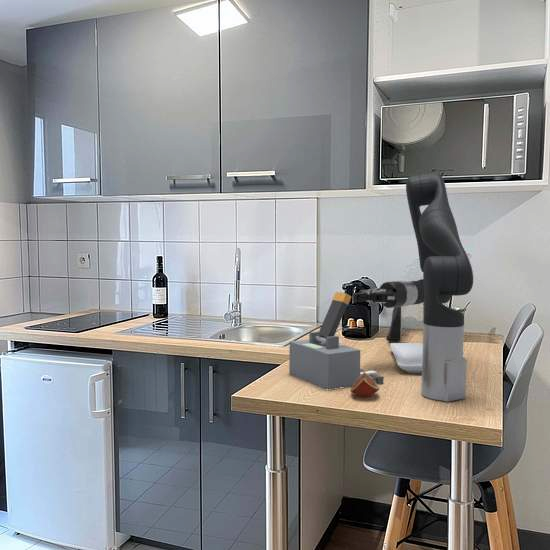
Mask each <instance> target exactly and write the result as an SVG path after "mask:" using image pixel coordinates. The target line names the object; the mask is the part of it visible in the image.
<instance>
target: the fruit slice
mask: <svg viewBox="0 0 550 550" xmlns="http://www.w3.org/2000/svg"><path fill="white" fill-rule="evenodd" d="M379 390H380V387H379V384H377V383H376V382H375V381H374V380H373V379H372V378H371V377H370V376H369V375H367V374H366V373H365V372H364V373H363V374H362V375H361V376H360V377H358V378H357V380H356V381H355V383H354V385H353V386H351V387H350V392H351V393H352V394H353V395H355V396H356V397H359V398H364V397H369V396H373V395H374V394H376V393H378V391H379Z"/></svg>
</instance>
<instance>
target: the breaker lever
mask: <svg viewBox="0 0 550 550" xmlns="http://www.w3.org/2000/svg"><path fill="white" fill-rule="evenodd" d="M333 295H334V296H333V298H332V301H331V304H330V305H329V308H328V310H327V313H326V314H325V317H324V320H323V322H322V324H321V326H320V327H319V328H320V329H319V333H318V335H319V336H316V338H315V339H316V341H319V342H323V343H326V337H330V336H336V333H337V330H338V328H339V326H340V324H341V321H342V319H343V317H344V314H345V312H346V308H347V307H348V306H349V304H350V301H351V299H352V296H351V295H350V294H348V293H345V292H338V291H335V293H334V294H333Z"/></svg>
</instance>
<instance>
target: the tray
mask: <svg viewBox="0 0 550 550" xmlns="http://www.w3.org/2000/svg"><path fill="white" fill-rule="evenodd" d="M389 346H390V349H391V350H392V351H391V352H392V353H393V357H394V358H395V360H396V364H397V366H398V367H399V368H400V369H402V370H403V371H405V372H406V373H408V374H422V354H423V342H422V343H419V342H418V343H417V342H416V343H415V342H410V343H409V342H391V343H389Z"/></svg>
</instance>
